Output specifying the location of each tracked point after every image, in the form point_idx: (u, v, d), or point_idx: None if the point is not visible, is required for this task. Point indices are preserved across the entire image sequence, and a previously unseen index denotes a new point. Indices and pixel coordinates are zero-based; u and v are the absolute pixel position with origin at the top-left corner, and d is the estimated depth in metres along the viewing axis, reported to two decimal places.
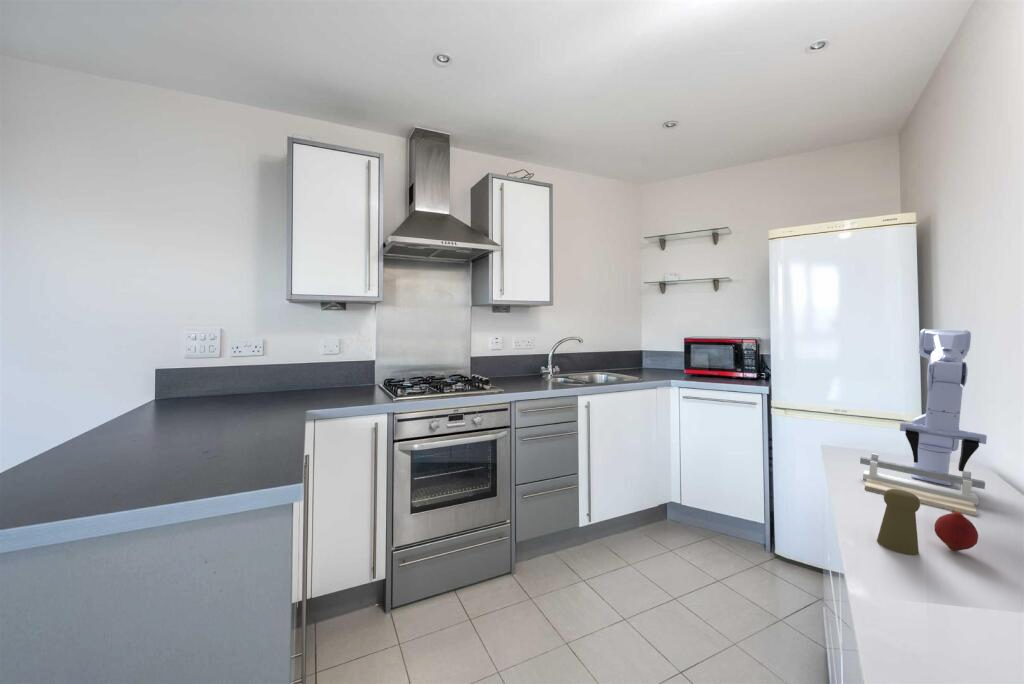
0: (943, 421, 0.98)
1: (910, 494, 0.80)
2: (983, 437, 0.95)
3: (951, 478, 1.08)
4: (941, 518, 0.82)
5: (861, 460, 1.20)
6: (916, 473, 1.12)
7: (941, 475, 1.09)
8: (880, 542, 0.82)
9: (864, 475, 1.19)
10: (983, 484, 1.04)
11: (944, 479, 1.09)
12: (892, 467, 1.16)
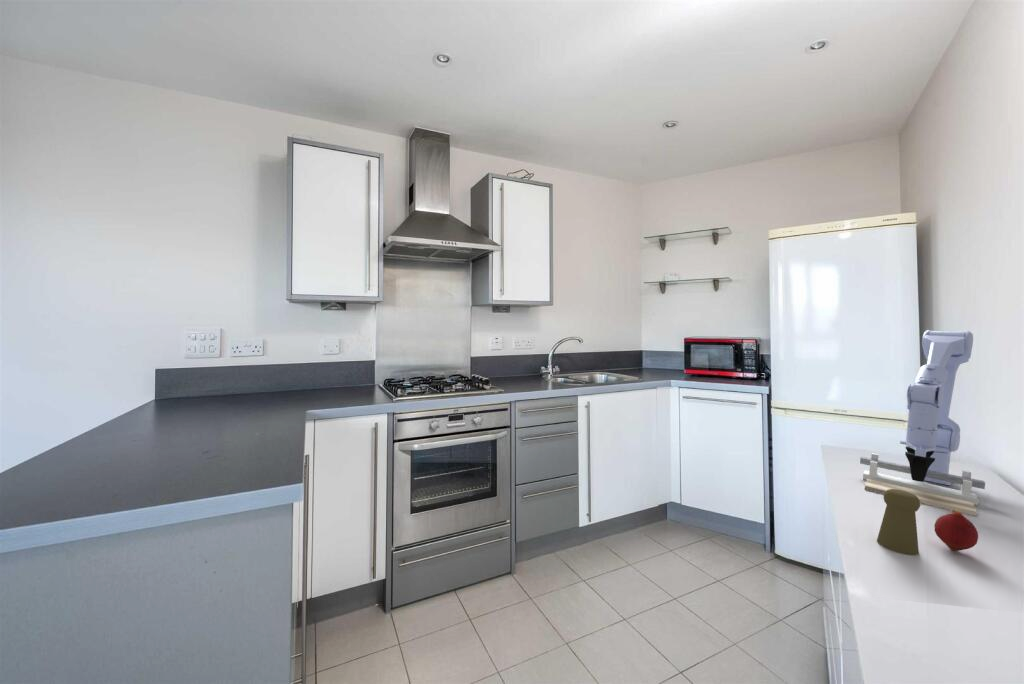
0: None
1: (910, 494, 0.80)
2: (915, 449, 1.08)
3: (951, 478, 1.08)
4: (941, 518, 0.82)
5: (861, 460, 1.20)
6: None
7: (941, 475, 1.09)
8: (880, 542, 0.82)
9: (864, 475, 1.19)
10: (983, 484, 1.04)
11: (944, 479, 1.09)
12: (892, 467, 1.16)
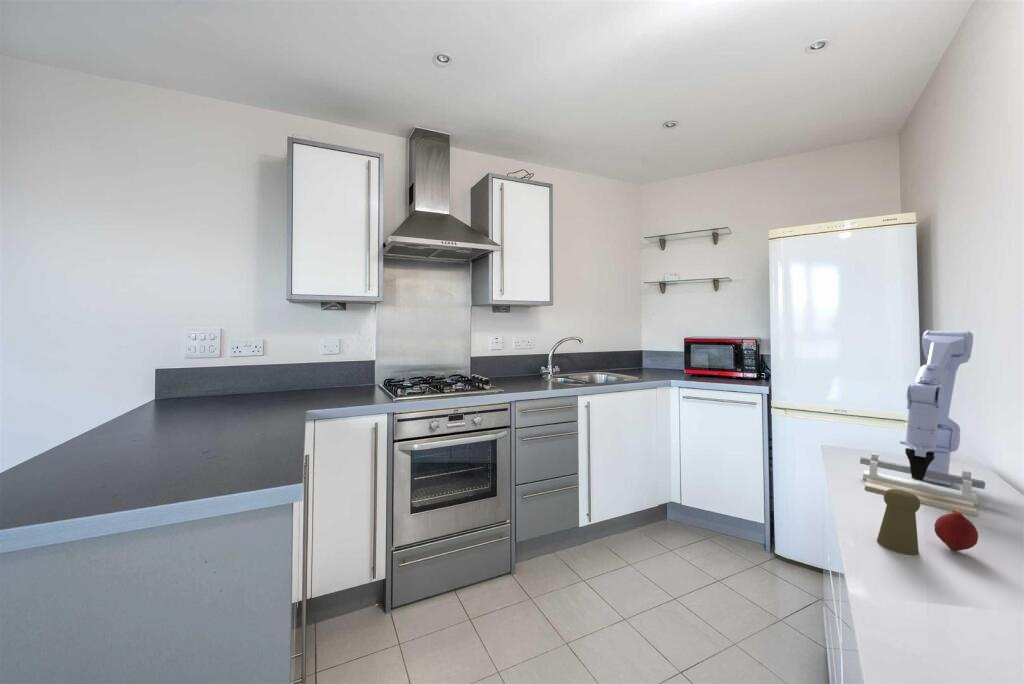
0: None
1: (910, 494, 0.80)
2: (915, 449, 1.08)
3: (951, 478, 1.08)
4: (941, 518, 0.82)
5: (861, 460, 1.20)
6: None
7: (941, 475, 1.09)
8: (880, 542, 0.82)
9: (864, 475, 1.19)
10: (983, 484, 1.04)
11: (944, 479, 1.09)
12: (892, 467, 1.16)
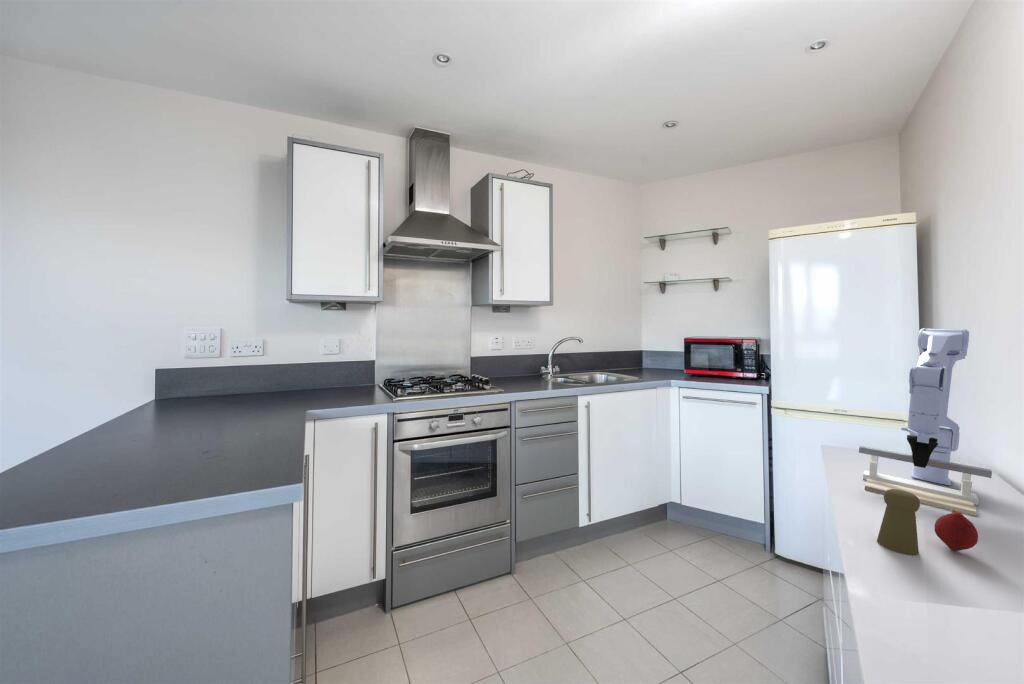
0: (908, 419, 1.08)
1: (910, 494, 0.80)
2: (917, 435, 1.02)
3: (955, 467, 1.01)
4: (941, 518, 0.82)
5: (860, 449, 1.14)
6: None
7: (945, 464, 1.03)
8: (880, 542, 0.82)
9: (864, 475, 1.19)
10: (990, 473, 0.98)
11: (948, 468, 1.02)
12: (893, 456, 1.09)
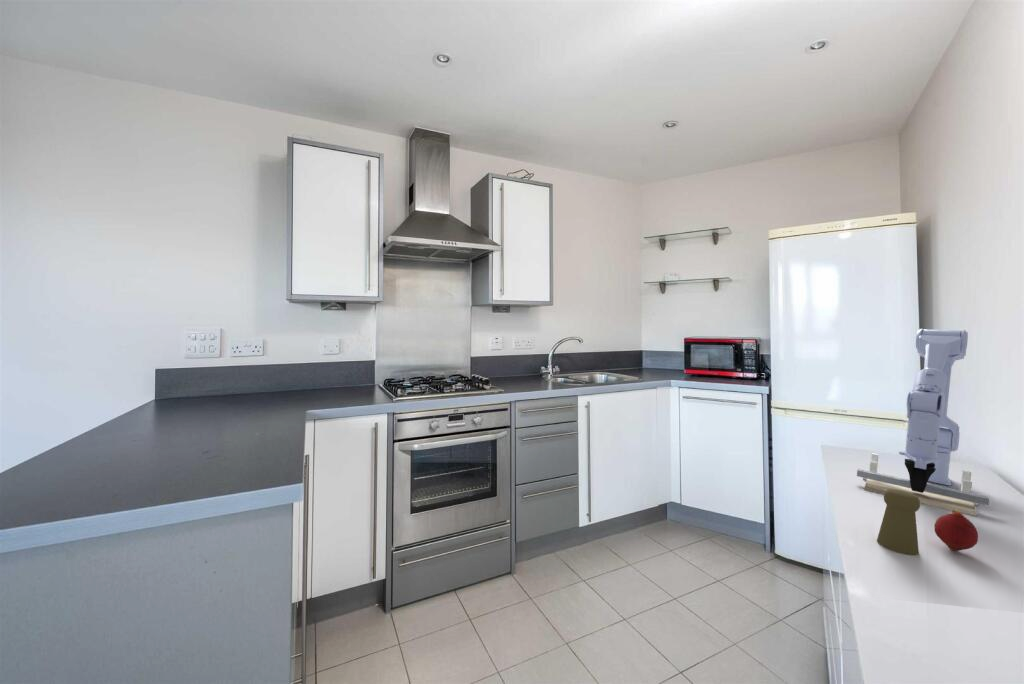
0: (906, 443, 1.08)
1: (910, 494, 0.80)
2: (915, 461, 1.02)
3: (953, 493, 1.02)
4: (941, 518, 0.82)
5: (858, 472, 1.14)
6: None
7: (942, 490, 1.03)
8: (880, 542, 0.82)
9: None
10: (987, 500, 0.98)
11: (945, 494, 1.03)
12: (890, 480, 1.10)
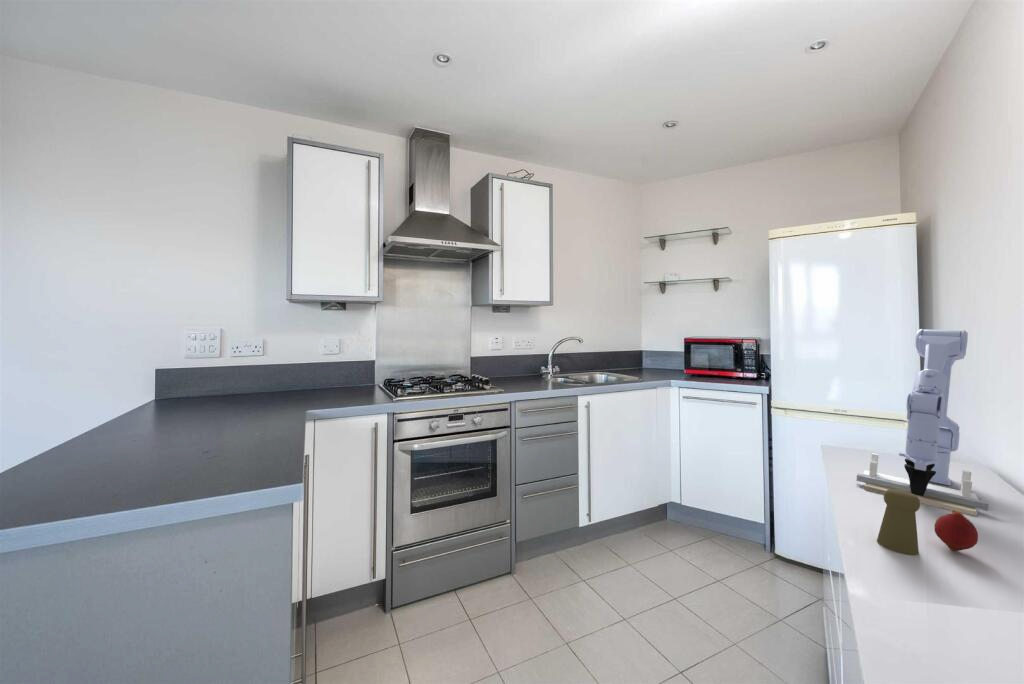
0: (906, 445, 1.08)
1: (910, 494, 0.80)
2: (915, 462, 1.02)
3: (952, 498, 1.02)
4: (941, 518, 0.82)
5: (858, 477, 1.14)
6: None
7: (942, 495, 1.03)
8: (880, 542, 0.82)
9: None
10: (986, 506, 0.98)
11: (945, 499, 1.03)
12: (890, 485, 1.10)
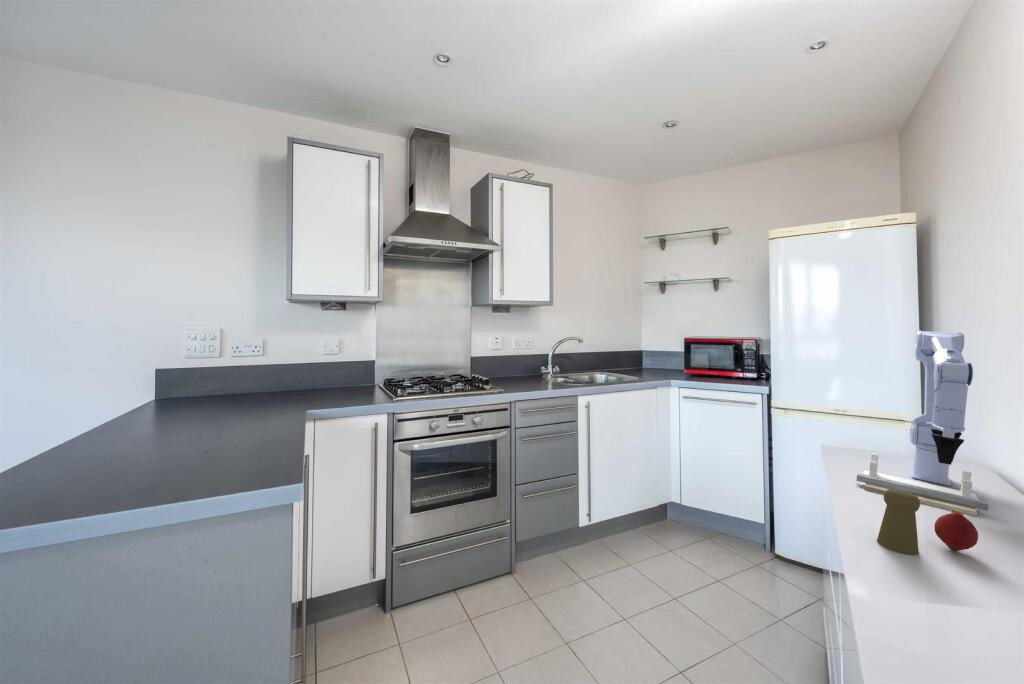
0: (932, 414, 1.09)
1: (910, 494, 0.80)
2: (942, 430, 1.03)
3: (952, 498, 1.02)
4: (941, 518, 0.82)
5: (858, 477, 1.14)
6: (915, 492, 1.06)
7: (942, 495, 1.03)
8: (880, 542, 0.82)
9: None
10: (986, 506, 0.98)
11: (945, 499, 1.03)
12: (890, 485, 1.10)
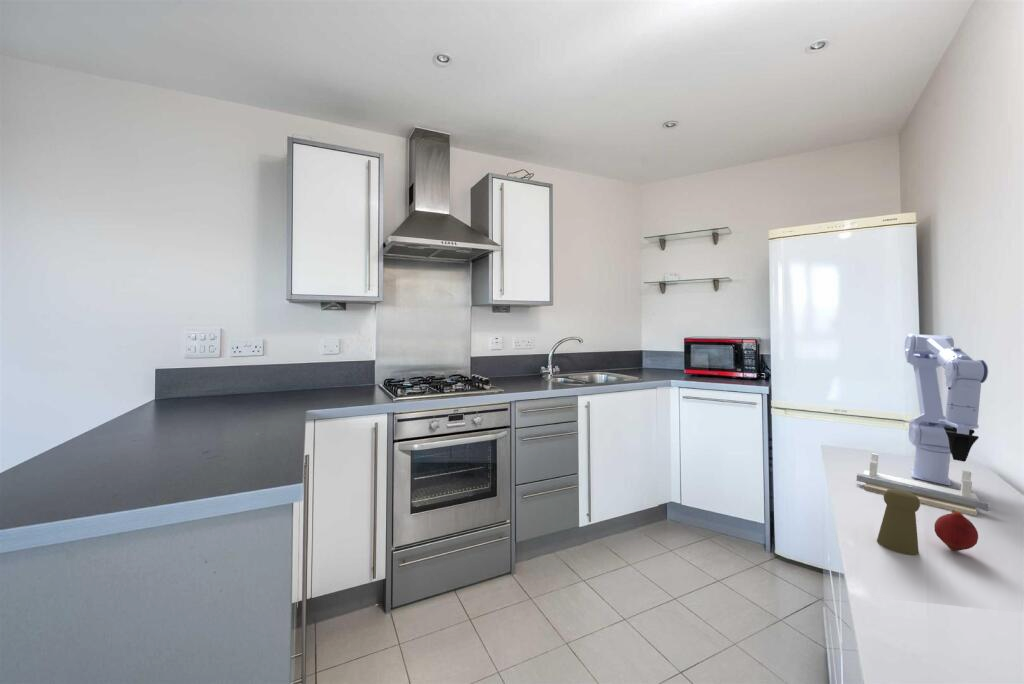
0: None
1: (910, 494, 0.80)
2: (957, 427, 1.04)
3: (952, 498, 1.02)
4: (941, 518, 0.82)
5: (858, 477, 1.14)
6: (915, 492, 1.06)
7: (942, 495, 1.03)
8: (880, 542, 0.82)
9: None
10: (986, 506, 0.98)
11: (945, 499, 1.03)
12: (890, 485, 1.10)
